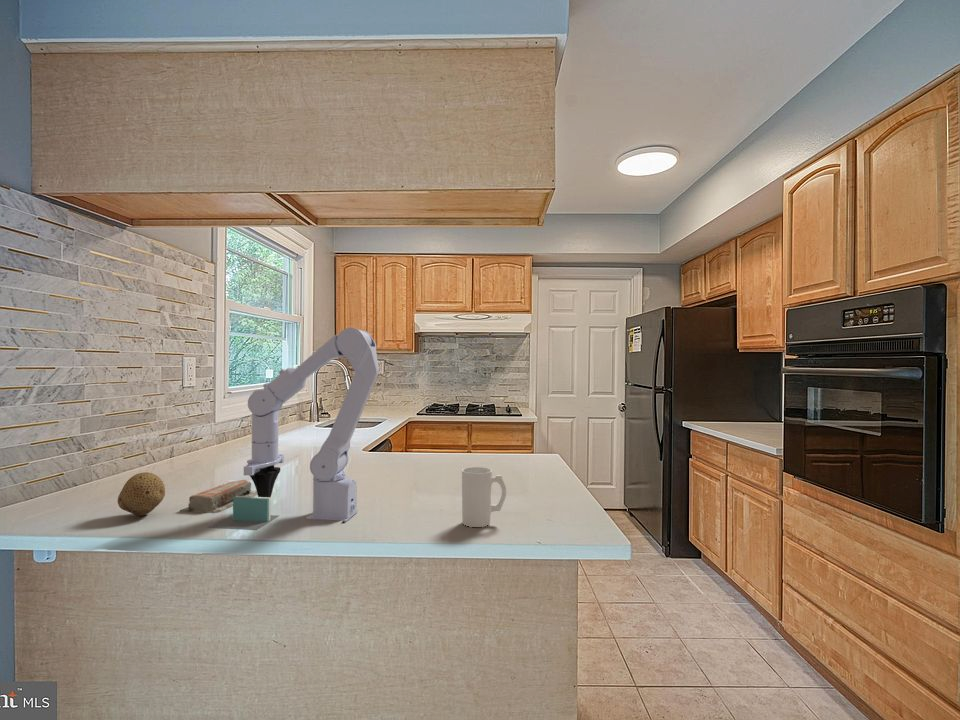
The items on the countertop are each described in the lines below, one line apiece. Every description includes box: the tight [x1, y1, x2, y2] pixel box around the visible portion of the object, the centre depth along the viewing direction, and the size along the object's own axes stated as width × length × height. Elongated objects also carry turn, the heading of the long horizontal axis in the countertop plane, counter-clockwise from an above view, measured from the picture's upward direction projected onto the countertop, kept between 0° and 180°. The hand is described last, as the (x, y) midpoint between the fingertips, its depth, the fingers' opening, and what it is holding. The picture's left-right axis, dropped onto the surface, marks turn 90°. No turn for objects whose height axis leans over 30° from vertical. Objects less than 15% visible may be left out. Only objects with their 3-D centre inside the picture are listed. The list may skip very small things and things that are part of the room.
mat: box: [207, 514, 280, 531], centre depth 116 cm, size 11×10×1 cm
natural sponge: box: [117, 471, 166, 517], centre depth 121 cm, size 9×9×10 cm
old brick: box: [179, 479, 258, 514], centre depth 132 cm, size 18×5×10 cm
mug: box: [461, 466, 507, 528], centre depth 118 cm, size 10×7×12 cm, turn 92°
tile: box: [232, 496, 272, 522], centre depth 117 cm, size 8×1×5 cm, turn 84°
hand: (264, 499), depth 122 cm, fingers closed
